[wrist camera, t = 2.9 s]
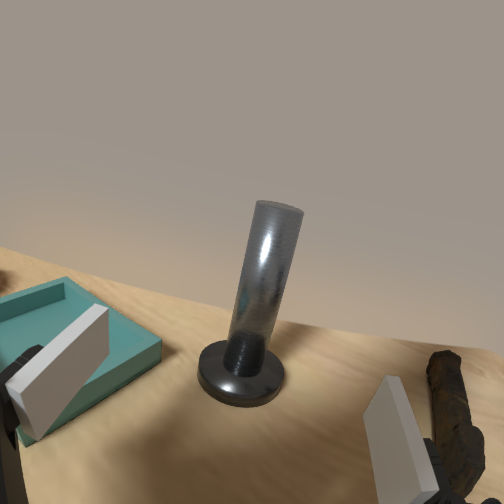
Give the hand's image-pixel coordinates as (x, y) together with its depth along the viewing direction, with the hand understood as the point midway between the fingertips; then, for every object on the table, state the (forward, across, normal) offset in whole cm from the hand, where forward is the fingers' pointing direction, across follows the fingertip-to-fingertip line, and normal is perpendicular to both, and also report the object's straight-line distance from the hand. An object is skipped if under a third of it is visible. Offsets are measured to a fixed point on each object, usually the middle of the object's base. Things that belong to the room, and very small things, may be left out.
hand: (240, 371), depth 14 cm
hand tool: (+6, +19, -9) cm, 22 cm away
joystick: (+10, 0, -9) cm, 13 cm away
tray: (+5, -16, -9) cm, 18 cm away
